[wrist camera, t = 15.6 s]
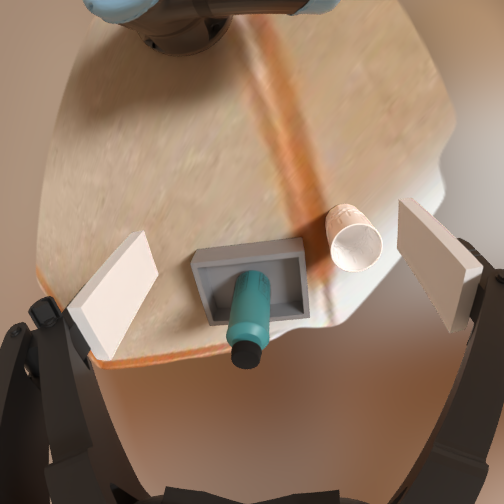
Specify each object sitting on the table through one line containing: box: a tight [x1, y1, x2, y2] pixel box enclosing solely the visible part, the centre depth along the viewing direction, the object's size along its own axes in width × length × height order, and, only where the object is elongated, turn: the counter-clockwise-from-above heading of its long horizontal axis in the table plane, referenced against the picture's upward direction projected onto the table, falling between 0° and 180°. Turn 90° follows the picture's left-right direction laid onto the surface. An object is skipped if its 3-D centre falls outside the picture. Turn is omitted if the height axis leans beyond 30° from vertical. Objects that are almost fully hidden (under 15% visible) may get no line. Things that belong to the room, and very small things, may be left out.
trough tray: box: [190, 237, 310, 326], centre depth 55 cm, size 14×19×5 cm
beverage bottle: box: [226, 270, 271, 369], centre depth 48 cm, size 6×7×20 cm
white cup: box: [325, 204, 383, 272], centre depth 47 cm, size 8×8×10 cm
